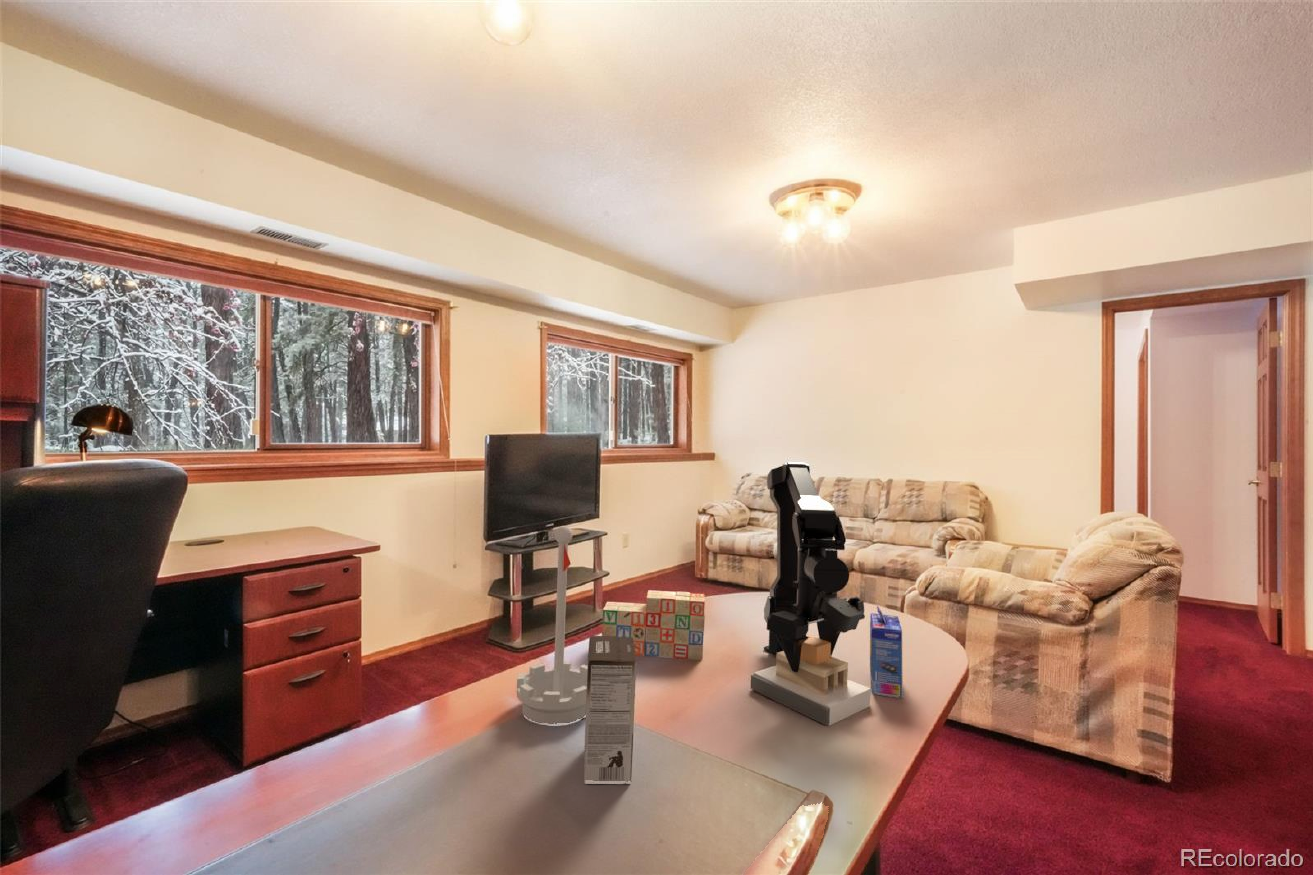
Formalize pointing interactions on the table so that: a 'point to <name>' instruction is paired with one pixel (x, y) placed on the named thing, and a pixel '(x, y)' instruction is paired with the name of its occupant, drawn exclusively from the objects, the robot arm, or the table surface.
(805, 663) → the pallet
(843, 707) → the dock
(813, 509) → the robot arm
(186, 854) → the table surface
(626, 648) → the coffee box
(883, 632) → the ink cartridge box
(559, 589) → the flag stand
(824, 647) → the tan cardboard cube
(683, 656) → the stack of blocks
